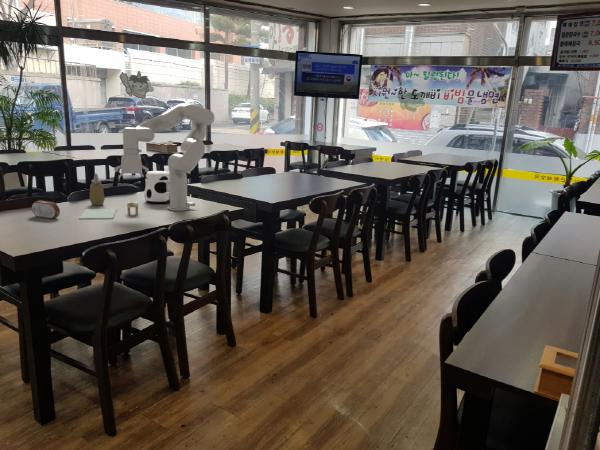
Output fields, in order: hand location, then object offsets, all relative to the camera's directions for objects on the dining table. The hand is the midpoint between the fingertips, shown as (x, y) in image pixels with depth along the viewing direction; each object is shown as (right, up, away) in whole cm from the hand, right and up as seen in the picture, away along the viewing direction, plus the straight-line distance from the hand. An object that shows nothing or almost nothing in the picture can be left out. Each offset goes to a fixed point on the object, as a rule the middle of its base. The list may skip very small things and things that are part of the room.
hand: (132, 184), depth 256 cm
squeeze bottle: (-28, -10, +22) cm, 37 cm away
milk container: (+3, -8, +39) cm, 40 cm away
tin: (-39, -18, -13) cm, 45 cm away
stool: (-1, -16, +4) cm, 16 cm away
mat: (-17, -16, -1) cm, 24 cm away
